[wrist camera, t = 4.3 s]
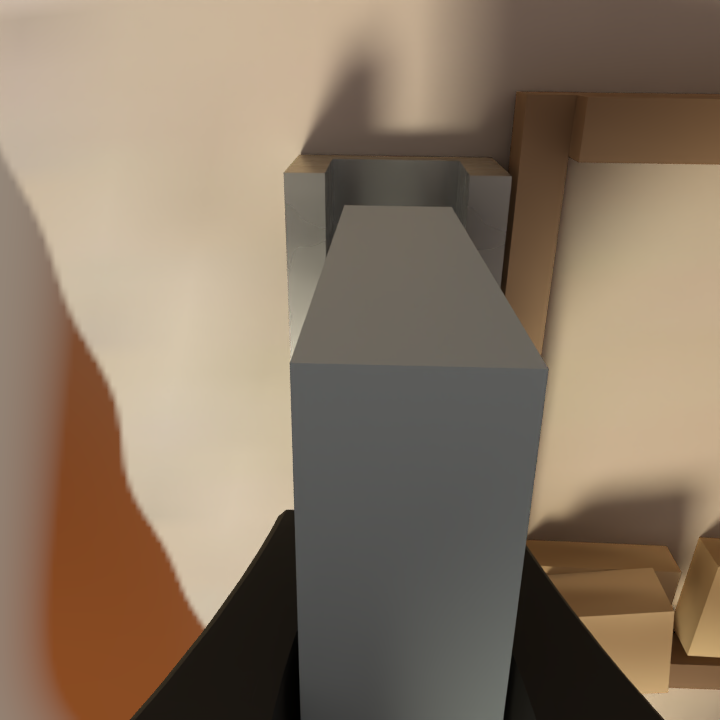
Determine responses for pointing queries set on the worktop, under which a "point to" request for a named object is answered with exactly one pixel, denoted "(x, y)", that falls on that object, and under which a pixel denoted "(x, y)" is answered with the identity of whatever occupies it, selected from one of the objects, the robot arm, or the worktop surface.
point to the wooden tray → (545, 195)
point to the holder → (385, 188)
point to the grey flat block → (410, 472)
